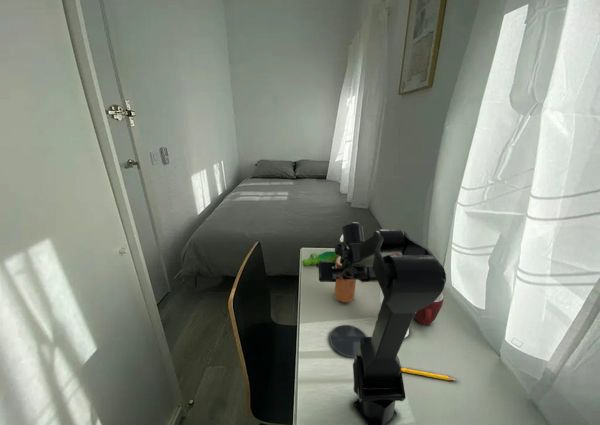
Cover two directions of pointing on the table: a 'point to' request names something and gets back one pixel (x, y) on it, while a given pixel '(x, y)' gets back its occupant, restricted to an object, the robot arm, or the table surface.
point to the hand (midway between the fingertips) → (344, 276)
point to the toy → (320, 258)
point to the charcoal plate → (346, 340)
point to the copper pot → (344, 287)
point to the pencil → (426, 374)
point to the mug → (429, 312)
